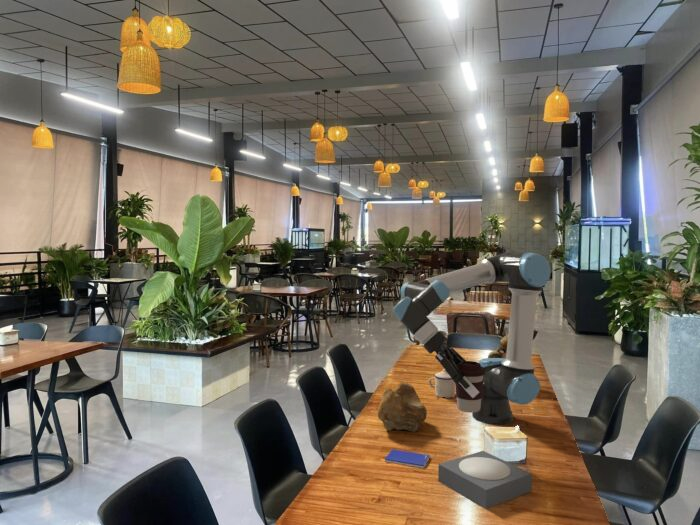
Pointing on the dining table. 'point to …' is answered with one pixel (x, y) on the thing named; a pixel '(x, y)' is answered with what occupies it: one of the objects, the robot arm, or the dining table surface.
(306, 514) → the dining table surface
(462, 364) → the coffee cup
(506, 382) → the robot arm
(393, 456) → the hard drive
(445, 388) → the teacup with lid
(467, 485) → the slate stand
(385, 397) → the rough brown rock
